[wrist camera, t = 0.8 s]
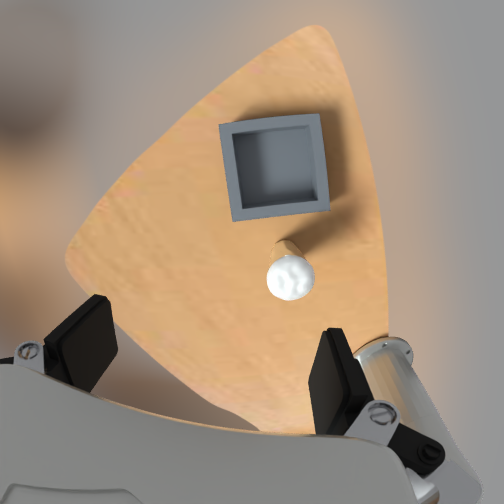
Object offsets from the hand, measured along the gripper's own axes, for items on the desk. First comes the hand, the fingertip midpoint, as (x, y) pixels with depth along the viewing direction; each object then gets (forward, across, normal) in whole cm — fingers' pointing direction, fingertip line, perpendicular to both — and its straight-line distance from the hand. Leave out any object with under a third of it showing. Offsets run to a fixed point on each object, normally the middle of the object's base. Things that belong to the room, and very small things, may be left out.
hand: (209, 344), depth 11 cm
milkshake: (+23, -5, +2) cm, 24 cm away
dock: (+23, -2, -8) cm, 24 cm away
